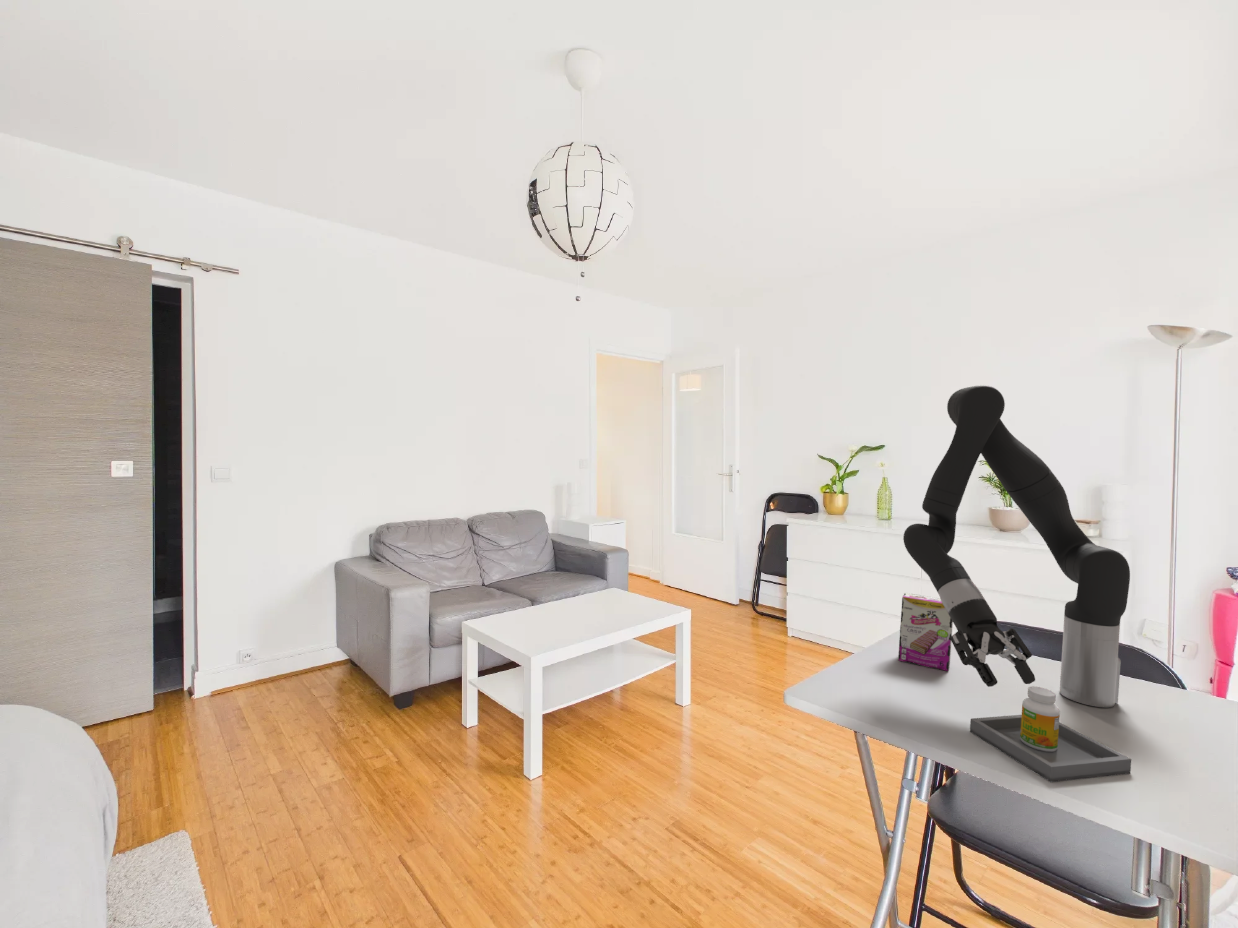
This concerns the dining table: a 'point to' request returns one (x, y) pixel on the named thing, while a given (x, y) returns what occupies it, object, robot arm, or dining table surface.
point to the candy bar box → (925, 632)
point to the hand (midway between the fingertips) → (1012, 683)
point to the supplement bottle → (1040, 720)
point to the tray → (1066, 763)
